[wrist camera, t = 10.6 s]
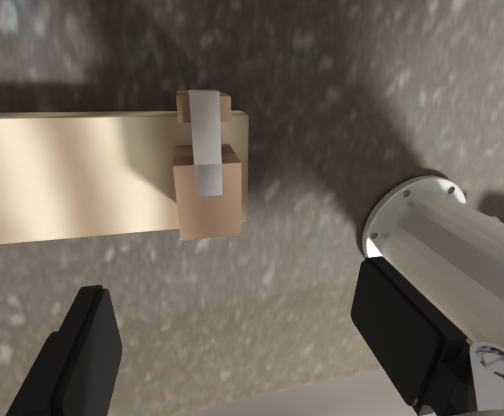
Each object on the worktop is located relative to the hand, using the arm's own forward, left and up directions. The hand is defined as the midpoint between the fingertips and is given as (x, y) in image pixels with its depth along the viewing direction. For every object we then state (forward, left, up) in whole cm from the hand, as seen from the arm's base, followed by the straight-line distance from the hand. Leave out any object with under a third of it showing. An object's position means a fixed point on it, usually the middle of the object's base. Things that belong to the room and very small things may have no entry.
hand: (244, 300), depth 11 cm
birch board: (+9, 0, -17) cm, 19 cm away
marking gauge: (+1, -2, -15) cm, 15 cm away
